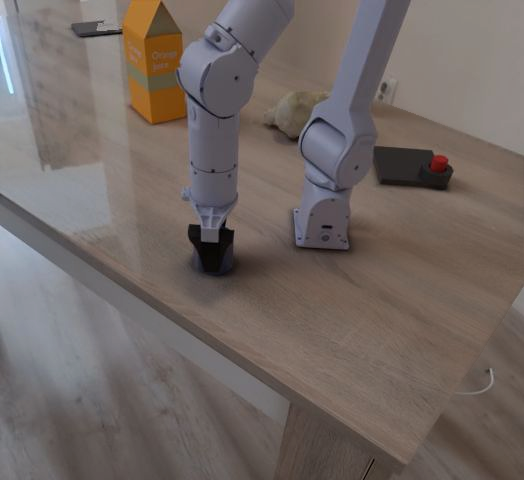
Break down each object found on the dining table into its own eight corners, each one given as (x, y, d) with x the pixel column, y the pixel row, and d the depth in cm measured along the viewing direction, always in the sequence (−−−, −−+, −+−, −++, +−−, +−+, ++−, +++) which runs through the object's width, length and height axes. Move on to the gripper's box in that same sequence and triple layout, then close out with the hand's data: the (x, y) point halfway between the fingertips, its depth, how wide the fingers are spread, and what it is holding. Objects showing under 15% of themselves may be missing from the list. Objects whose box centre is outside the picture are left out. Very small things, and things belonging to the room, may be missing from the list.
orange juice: (151, 124, 93) (139, 1, 77) (131, 106, 97) (115, -15, 82) (186, 116, 96) (181, -4, 81) (165, 99, 100) (156, -18, 85)
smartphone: (69, 23, 122) (126, 17, 127) (70, 27, 123) (127, 22, 128) (78, 33, 118) (136, 27, 123) (79, 37, 119) (137, 31, 124)
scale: (450, 192, 85) (456, 176, 83) (380, 187, 84) (385, 171, 82) (433, 156, 93) (439, 141, 91) (369, 151, 93) (373, 136, 90)
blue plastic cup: (232, 276, 66) (233, 250, 63) (192, 273, 66) (191, 247, 62) (233, 251, 70) (234, 225, 66) (196, 249, 69) (195, 223, 66)
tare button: (445, 173, 84) (450, 162, 82) (431, 172, 84) (435, 161, 82) (442, 166, 86) (446, 155, 84) (428, 164, 86) (432, 154, 84)
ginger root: (257, 151, 93) (319, 119, 83) (248, 112, 92) (309, 75, 82) (303, 151, 104) (362, 123, 94) (294, 116, 103) (354, 85, 93)
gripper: (185, 128, 60) (189, 220, 71) (172, 191, 51) (178, 286, 61) (241, 133, 61) (237, 223, 71) (237, 196, 52) (233, 289, 62)
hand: (213, 252), depth 66 cm, fingers open, 7 cm apart
